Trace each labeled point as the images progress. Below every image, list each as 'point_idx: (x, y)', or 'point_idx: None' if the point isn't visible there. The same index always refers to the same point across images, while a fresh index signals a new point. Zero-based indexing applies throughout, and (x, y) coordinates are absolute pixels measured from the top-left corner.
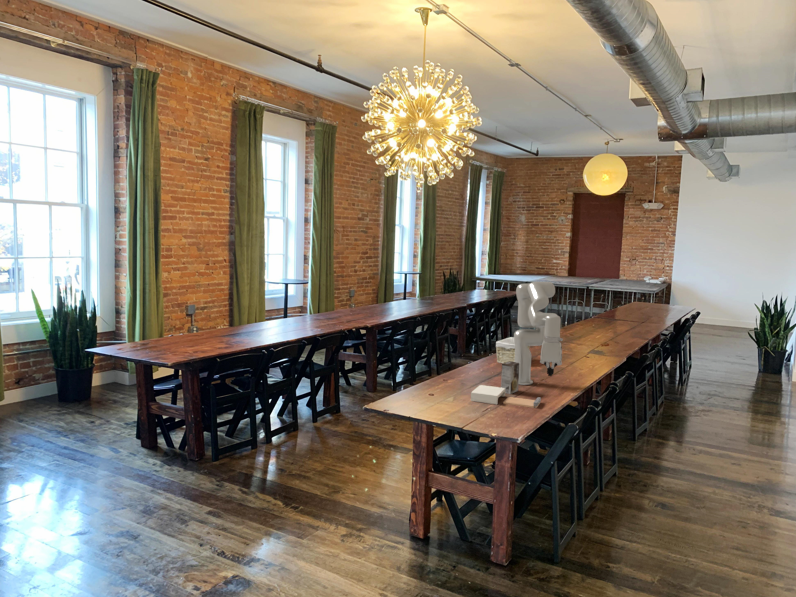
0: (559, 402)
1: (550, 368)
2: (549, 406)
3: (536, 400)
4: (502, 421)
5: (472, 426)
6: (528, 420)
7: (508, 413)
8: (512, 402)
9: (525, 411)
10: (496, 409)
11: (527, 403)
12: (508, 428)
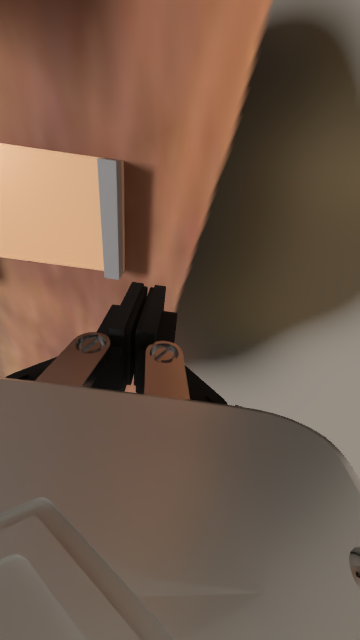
0: (229, 104)
1: (134, 379)
2: (174, 221)
3: (108, 237)
4: None
5: None
6: (127, 386)
7: (56, 351)
8: (11, 247)
9: (97, 319)
10: (3, 327)
11: (74, 240)
12: None
